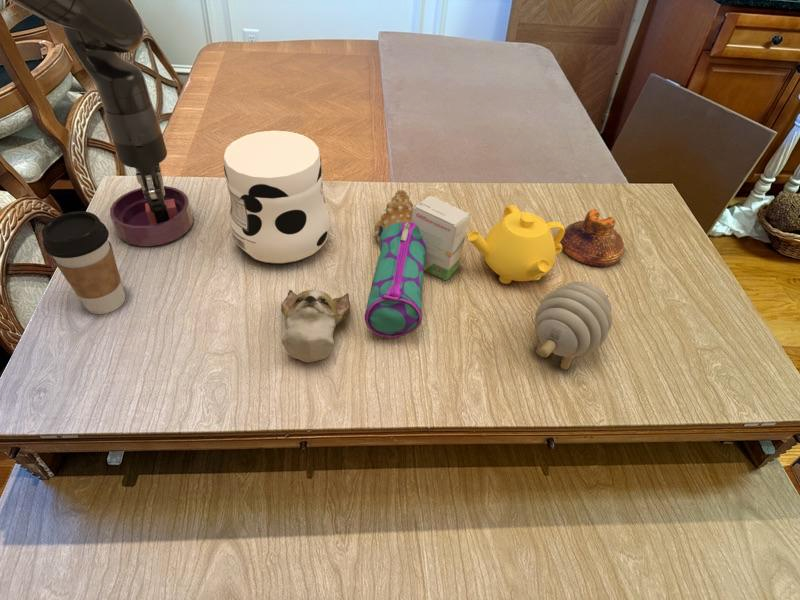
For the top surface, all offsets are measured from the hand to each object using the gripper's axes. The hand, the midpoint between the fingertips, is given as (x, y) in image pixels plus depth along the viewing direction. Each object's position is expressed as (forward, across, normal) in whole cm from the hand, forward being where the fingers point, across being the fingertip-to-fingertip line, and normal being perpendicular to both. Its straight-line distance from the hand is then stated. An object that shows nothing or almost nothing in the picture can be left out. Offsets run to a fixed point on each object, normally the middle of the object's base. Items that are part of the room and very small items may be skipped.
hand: (163, 218), depth 100 cm
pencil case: (+1, +33, +34) cm, 47 cm away
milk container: (+2, +12, +19) cm, 23 cm away
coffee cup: (+2, +18, -11) cm, 21 cm away
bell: (+2, +32, +73) cm, 80 cm away
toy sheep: (+2, +51, +53) cm, 74 cm away
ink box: (+1, +27, +43) cm, 51 cm away
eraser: (0, 0, 0) cm, 0 cm away
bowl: (+1, 0, -2) cm, 2 cm away
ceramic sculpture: (+2, +36, +18) cm, 41 cm away
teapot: (+2, +33, +55) cm, 65 cm away
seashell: (+2, +15, +40) cm, 43 cm away
